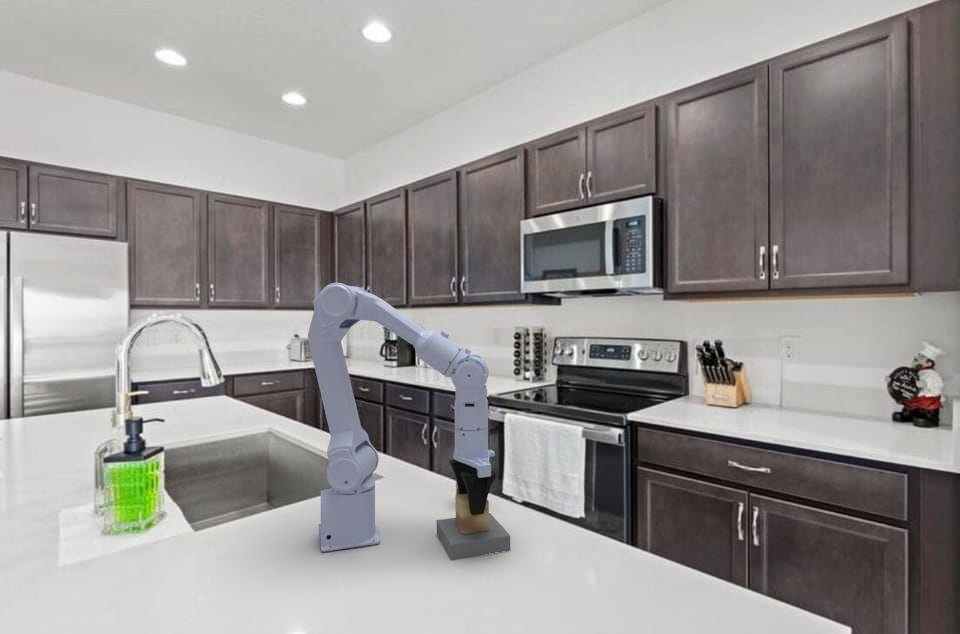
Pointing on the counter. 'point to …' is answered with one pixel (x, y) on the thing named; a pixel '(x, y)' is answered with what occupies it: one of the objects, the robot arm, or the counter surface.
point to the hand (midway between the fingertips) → (471, 507)
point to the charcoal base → (472, 539)
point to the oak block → (470, 516)
